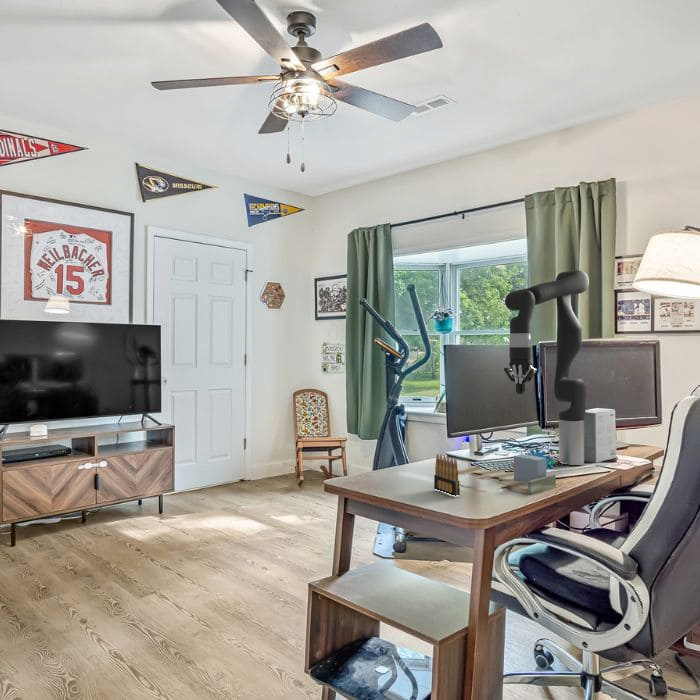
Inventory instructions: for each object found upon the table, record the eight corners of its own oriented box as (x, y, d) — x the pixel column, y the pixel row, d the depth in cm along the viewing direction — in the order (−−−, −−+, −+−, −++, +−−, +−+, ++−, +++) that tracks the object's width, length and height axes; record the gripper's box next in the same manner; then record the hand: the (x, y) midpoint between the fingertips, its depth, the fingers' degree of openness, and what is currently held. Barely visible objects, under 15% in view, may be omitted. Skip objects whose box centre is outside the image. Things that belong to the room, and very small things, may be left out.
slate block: (513, 479, 188) (513, 456, 188) (522, 477, 191) (522, 454, 191) (537, 484, 181) (537, 460, 181) (546, 482, 184) (546, 458, 184)
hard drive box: (599, 455, 234) (598, 407, 234) (616, 458, 228) (616, 409, 228) (577, 460, 225) (577, 410, 225) (595, 463, 219) (595, 412, 219)
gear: (531, 469, 202) (525, 446, 209) (524, 478, 206) (519, 455, 213) (560, 473, 203) (553, 450, 210) (553, 481, 207) (547, 458, 214)
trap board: (449, 475, 200) (449, 464, 200) (477, 469, 210) (477, 458, 210) (531, 494, 175) (531, 482, 175) (559, 486, 185) (558, 474, 185)
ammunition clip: (433, 490, 181) (433, 453, 181) (438, 489, 182) (438, 452, 182) (455, 498, 172) (455, 459, 172) (460, 497, 173) (459, 458, 172)
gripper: (542, 345, 199) (542, 394, 200) (510, 346, 210) (510, 392, 210) (530, 346, 195) (530, 395, 195) (498, 346, 205) (498, 393, 205)
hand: (520, 393), depth 202 cm, fingers closed
